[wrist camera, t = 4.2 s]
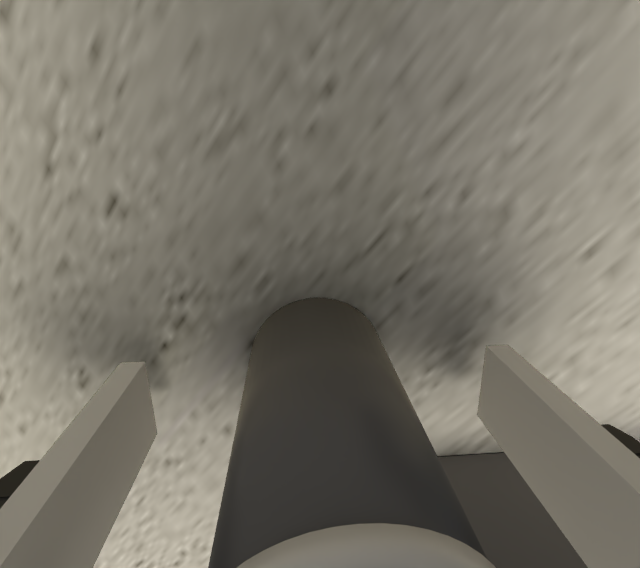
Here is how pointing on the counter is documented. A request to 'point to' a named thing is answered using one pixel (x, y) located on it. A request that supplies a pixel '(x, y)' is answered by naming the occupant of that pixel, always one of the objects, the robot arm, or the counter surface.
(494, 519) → the grey block with ring
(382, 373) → the grey cylinder
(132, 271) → the counter surface
